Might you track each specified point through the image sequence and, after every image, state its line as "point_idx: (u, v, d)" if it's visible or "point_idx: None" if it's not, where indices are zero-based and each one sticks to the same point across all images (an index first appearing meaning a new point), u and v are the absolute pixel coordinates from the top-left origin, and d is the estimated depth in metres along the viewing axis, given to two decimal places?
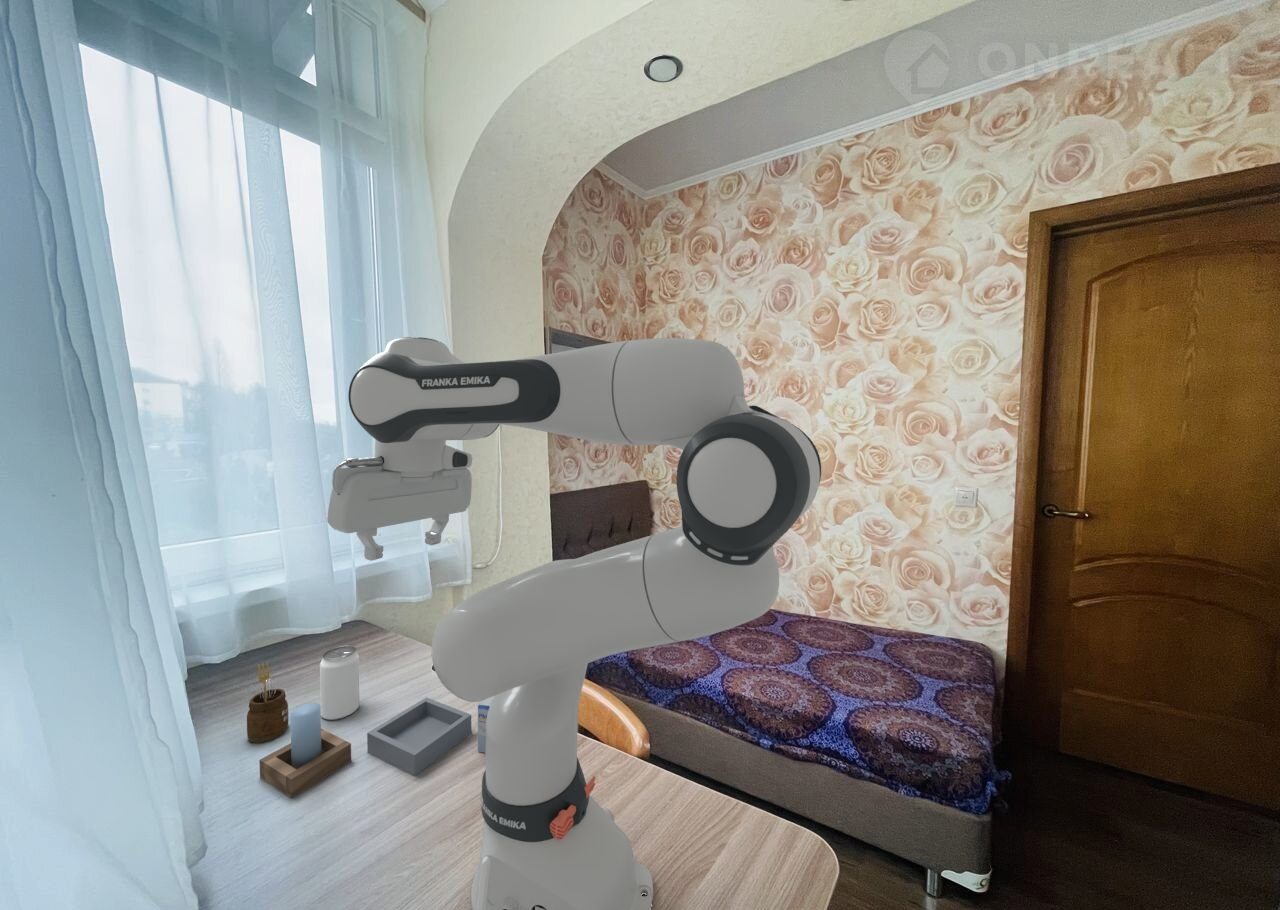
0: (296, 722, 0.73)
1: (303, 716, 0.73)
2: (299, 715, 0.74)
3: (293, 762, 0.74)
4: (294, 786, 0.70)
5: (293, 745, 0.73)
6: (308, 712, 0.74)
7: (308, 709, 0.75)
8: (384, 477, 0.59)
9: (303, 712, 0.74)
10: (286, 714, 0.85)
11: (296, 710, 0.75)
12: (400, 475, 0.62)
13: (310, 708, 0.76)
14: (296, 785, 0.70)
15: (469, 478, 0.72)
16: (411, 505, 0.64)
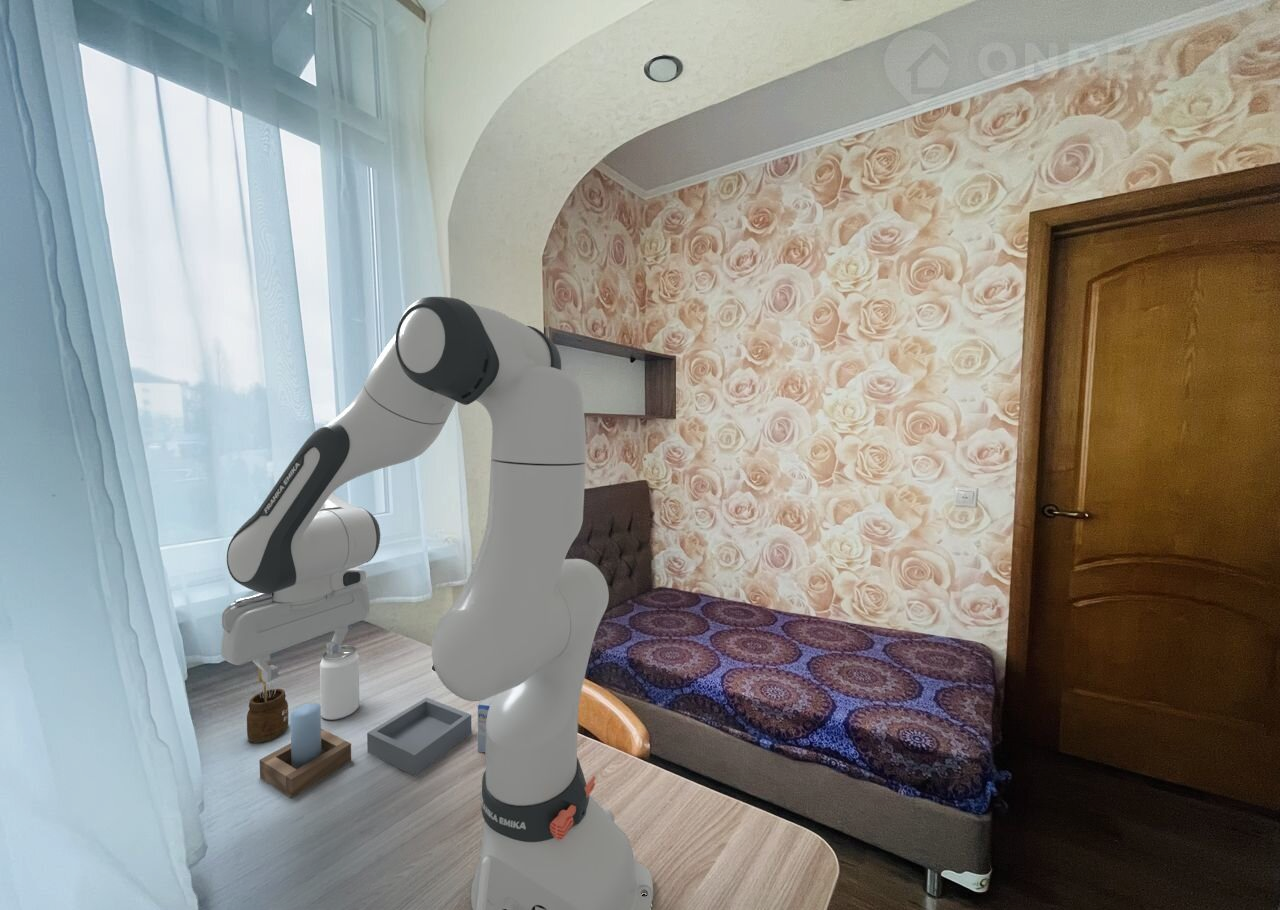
0: (296, 722, 0.73)
1: (303, 716, 0.73)
2: (299, 715, 0.74)
3: (293, 762, 0.74)
4: (294, 786, 0.70)
5: (293, 745, 0.73)
6: (308, 712, 0.74)
7: (308, 709, 0.75)
8: (273, 609, 0.69)
9: (303, 712, 0.74)
10: (286, 714, 0.85)
11: (296, 710, 0.75)
12: (290, 604, 0.71)
13: (311, 708, 0.76)
14: (296, 785, 0.70)
15: (365, 590, 0.81)
16: (304, 626, 0.73)
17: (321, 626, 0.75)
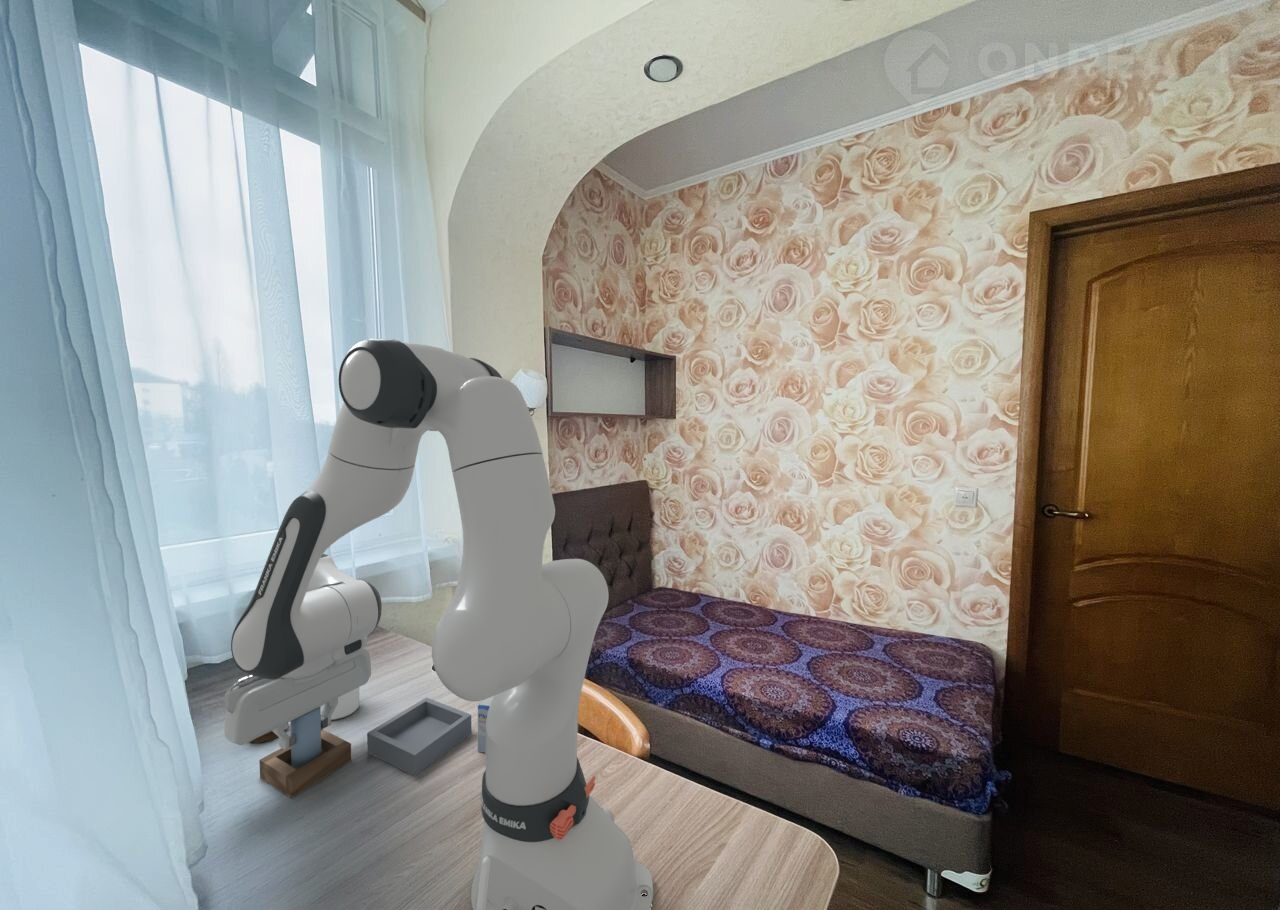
0: (296, 722, 0.73)
1: (303, 716, 0.73)
2: None
3: (293, 762, 0.74)
4: (294, 786, 0.70)
5: (293, 745, 0.73)
6: (308, 712, 0.74)
7: None
8: (275, 686, 0.69)
9: None
10: None
11: None
12: (292, 678, 0.71)
13: None
14: (296, 785, 0.70)
15: (366, 656, 0.82)
16: (306, 699, 0.73)
17: (323, 696, 0.76)
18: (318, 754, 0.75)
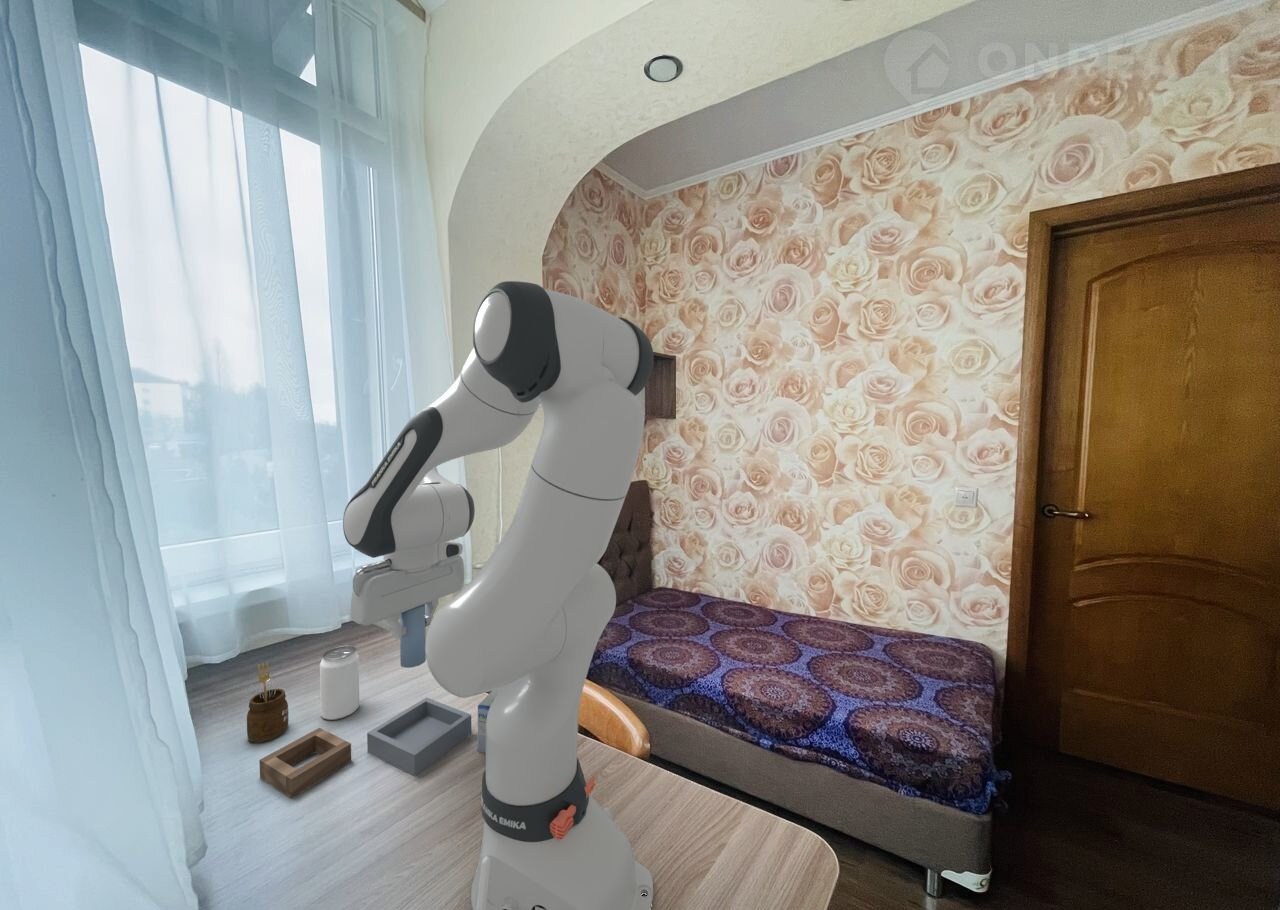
0: (406, 614, 0.79)
1: (413, 610, 0.79)
2: None
3: (403, 653, 0.79)
4: (294, 786, 0.70)
5: None
6: (415, 607, 0.80)
7: None
8: (392, 576, 0.75)
9: None
10: (286, 714, 0.85)
11: None
12: (405, 572, 0.77)
13: None
14: (296, 785, 0.70)
15: (461, 563, 0.87)
16: (416, 593, 0.79)
17: (428, 594, 0.81)
18: (424, 648, 0.81)
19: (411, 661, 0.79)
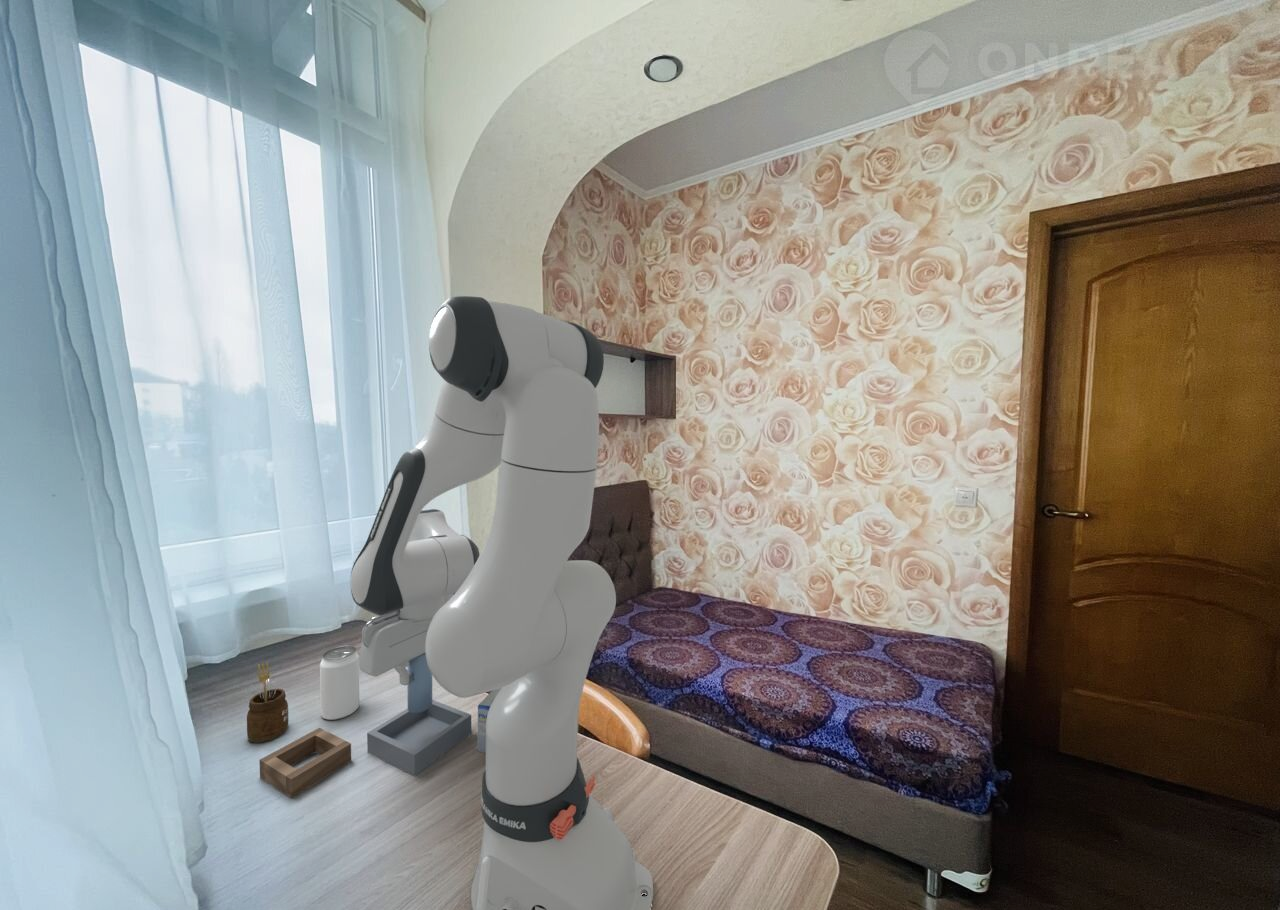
0: (414, 661, 0.80)
1: (420, 656, 0.80)
2: None
3: (410, 698, 0.80)
4: (294, 786, 0.70)
5: (411, 682, 0.80)
6: (423, 653, 0.81)
7: None
8: (401, 625, 0.76)
9: None
10: (286, 714, 0.85)
11: None
12: (413, 620, 0.78)
13: None
14: (296, 785, 0.70)
15: None
16: (423, 640, 0.80)
17: None
18: (431, 692, 0.82)
19: (418, 706, 0.80)
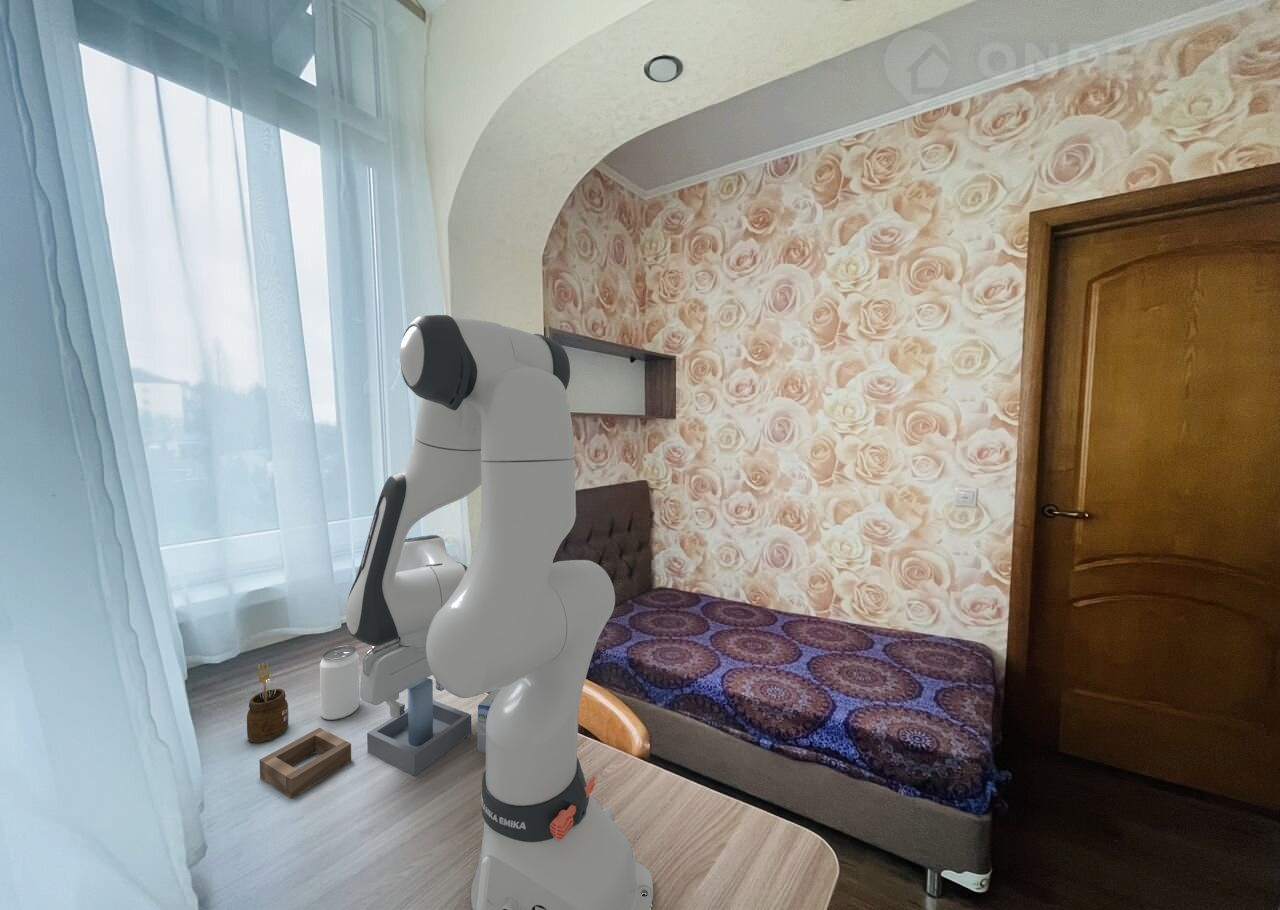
0: (414, 694, 0.80)
1: (421, 689, 0.80)
2: (416, 688, 0.81)
3: (411, 731, 0.80)
4: (294, 786, 0.70)
5: (411, 715, 0.80)
6: (423, 685, 0.81)
7: (422, 683, 0.82)
8: (401, 653, 0.76)
9: (419, 686, 0.81)
10: (286, 714, 0.85)
11: None
12: (413, 647, 0.78)
13: (424, 682, 0.82)
14: (296, 785, 0.70)
15: None
16: (423, 666, 0.80)
17: None
18: (431, 724, 0.82)
19: (418, 739, 0.80)
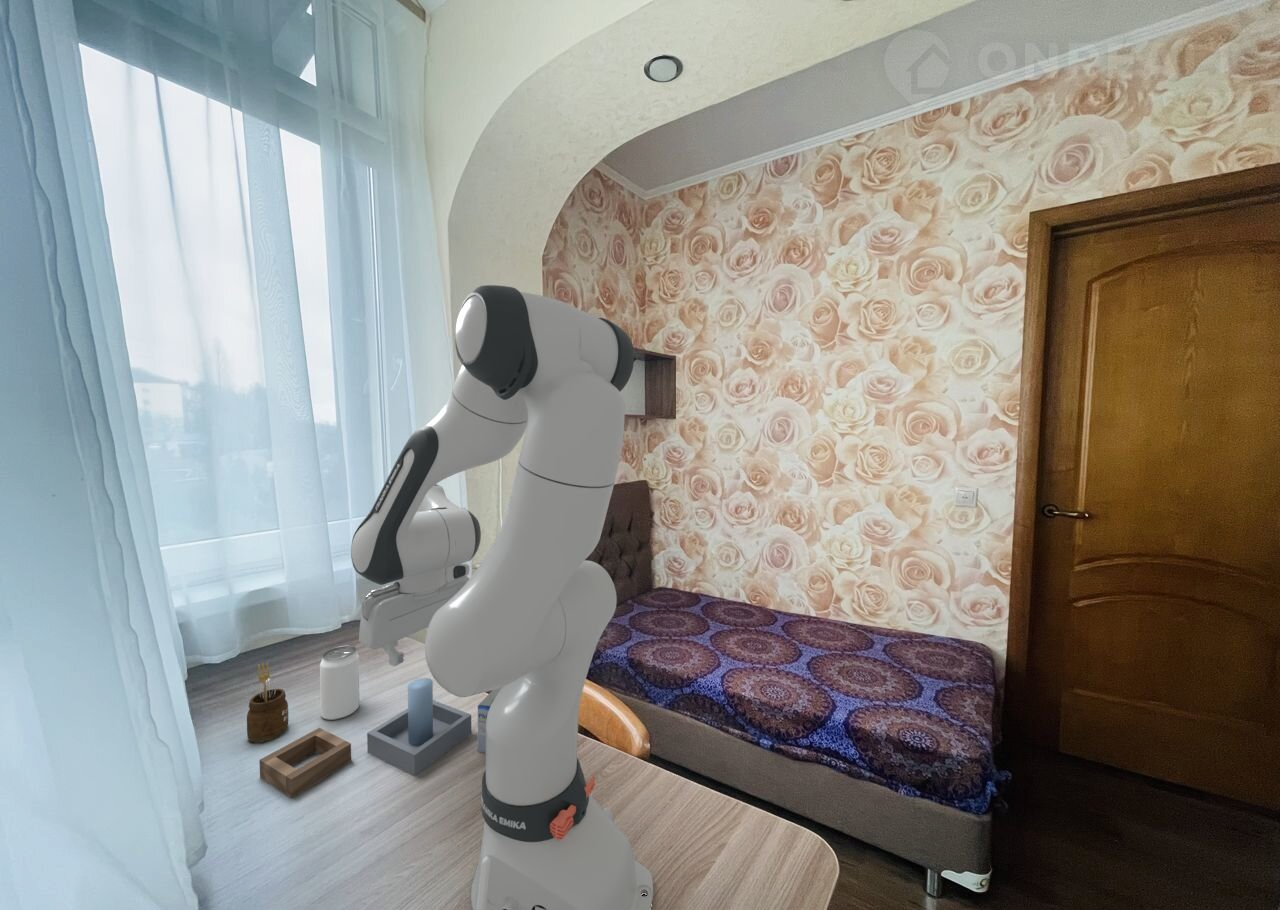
0: (414, 694, 0.80)
1: (421, 689, 0.80)
2: (416, 688, 0.80)
3: (411, 731, 0.80)
4: (294, 786, 0.70)
5: (411, 715, 0.80)
6: (423, 685, 0.81)
7: (422, 683, 0.82)
8: (400, 599, 0.76)
9: (419, 686, 0.81)
10: (286, 714, 0.85)
11: (412, 684, 0.82)
12: (413, 595, 0.78)
13: (424, 682, 0.82)
14: (296, 785, 0.70)
15: None
16: (423, 615, 0.80)
17: None
18: (431, 724, 0.82)
19: (418, 739, 0.80)
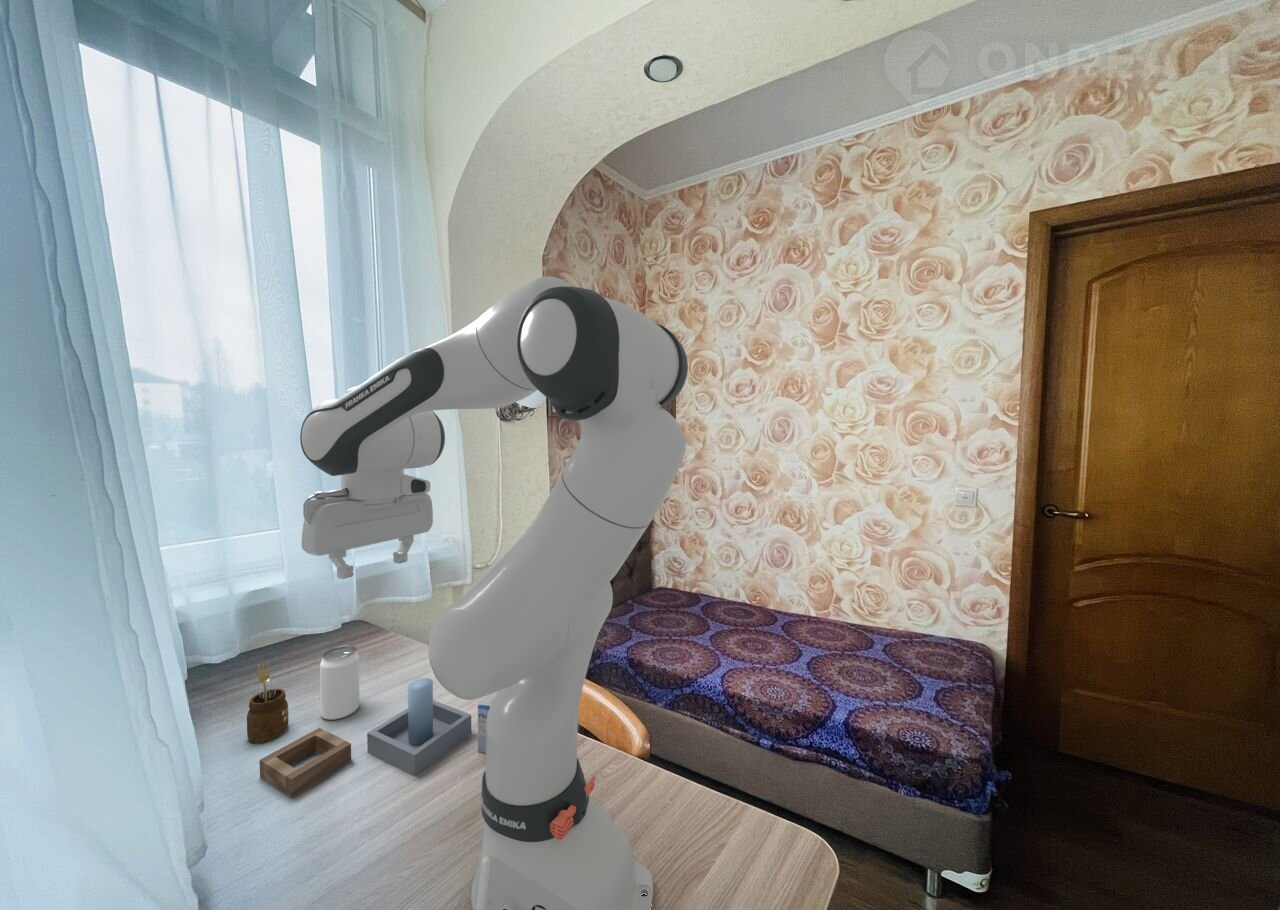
0: (414, 694, 0.80)
1: (421, 689, 0.80)
2: (416, 688, 0.80)
3: (411, 731, 0.80)
4: (294, 786, 0.70)
5: (411, 715, 0.80)
6: (423, 686, 0.81)
7: (422, 683, 0.82)
8: (349, 505, 0.70)
9: (419, 686, 0.81)
10: (286, 714, 0.85)
11: (412, 684, 0.82)
12: (364, 503, 0.72)
13: (424, 682, 0.82)
14: (296, 785, 0.70)
15: (429, 502, 0.82)
16: (376, 528, 0.74)
17: (391, 531, 0.76)
18: (431, 724, 0.82)
19: (418, 740, 0.80)
